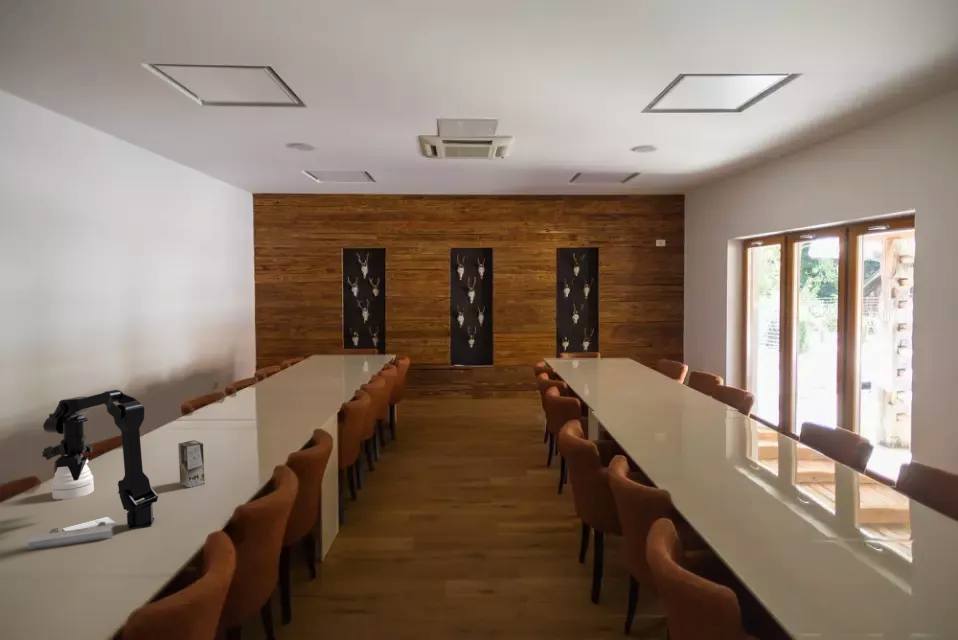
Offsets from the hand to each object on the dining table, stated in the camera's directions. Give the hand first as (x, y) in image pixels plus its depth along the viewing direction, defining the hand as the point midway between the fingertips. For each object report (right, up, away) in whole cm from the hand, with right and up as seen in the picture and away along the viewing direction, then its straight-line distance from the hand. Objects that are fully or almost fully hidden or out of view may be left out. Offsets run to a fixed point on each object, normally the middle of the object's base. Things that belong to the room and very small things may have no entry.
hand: (76, 480), depth 192 cm
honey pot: (-17, -11, +22) cm, 30 cm away
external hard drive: (+12, -13, -11) cm, 21 cm away
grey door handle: (+13, -13, -18) cm, 26 cm away
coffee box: (+24, -10, +31) cm, 40 cm away
